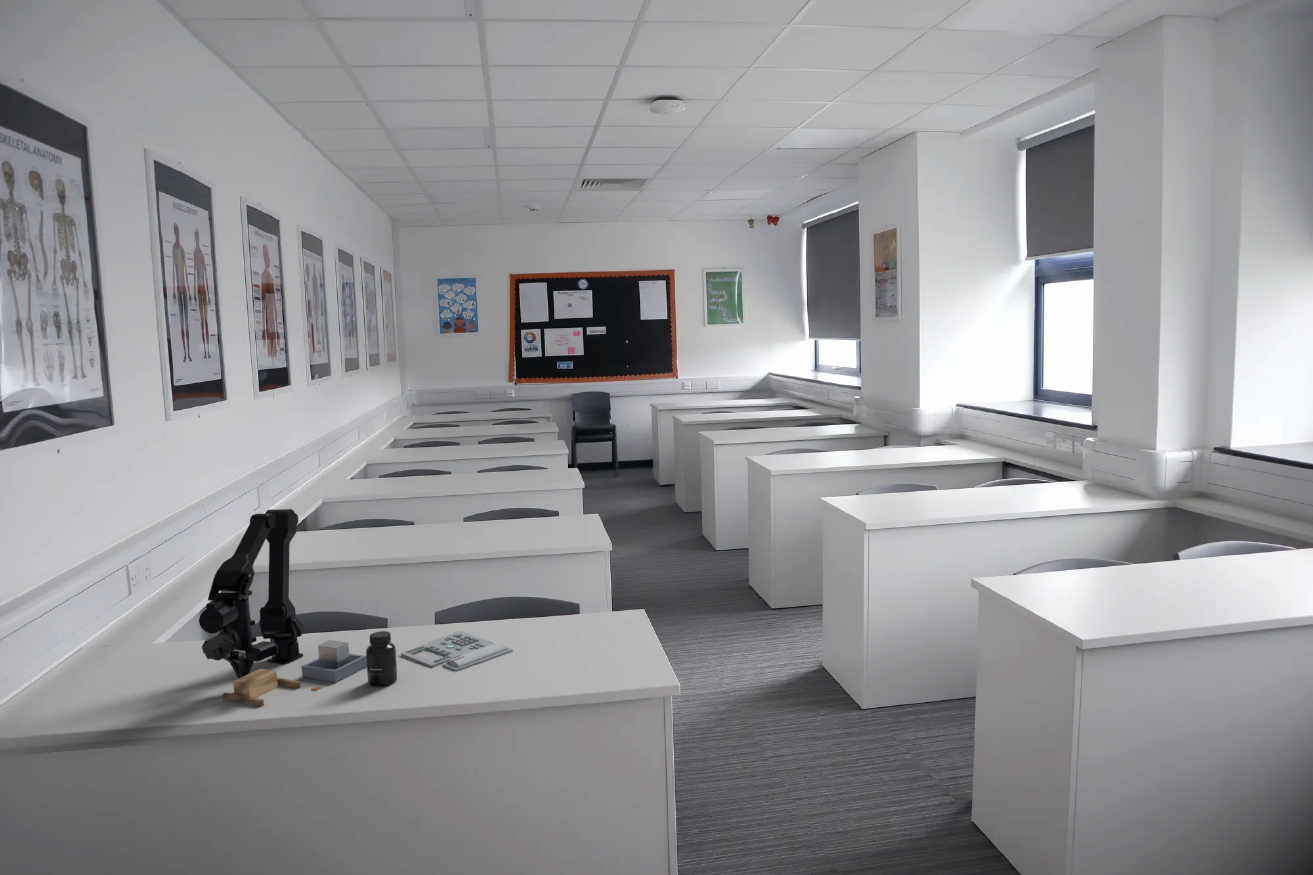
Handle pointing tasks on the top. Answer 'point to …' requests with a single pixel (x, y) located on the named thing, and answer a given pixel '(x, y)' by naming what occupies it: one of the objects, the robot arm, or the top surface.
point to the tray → (334, 676)
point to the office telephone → (459, 651)
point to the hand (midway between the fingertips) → (243, 682)
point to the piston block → (256, 683)
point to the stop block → (333, 654)
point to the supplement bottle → (381, 660)
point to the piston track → (260, 701)
